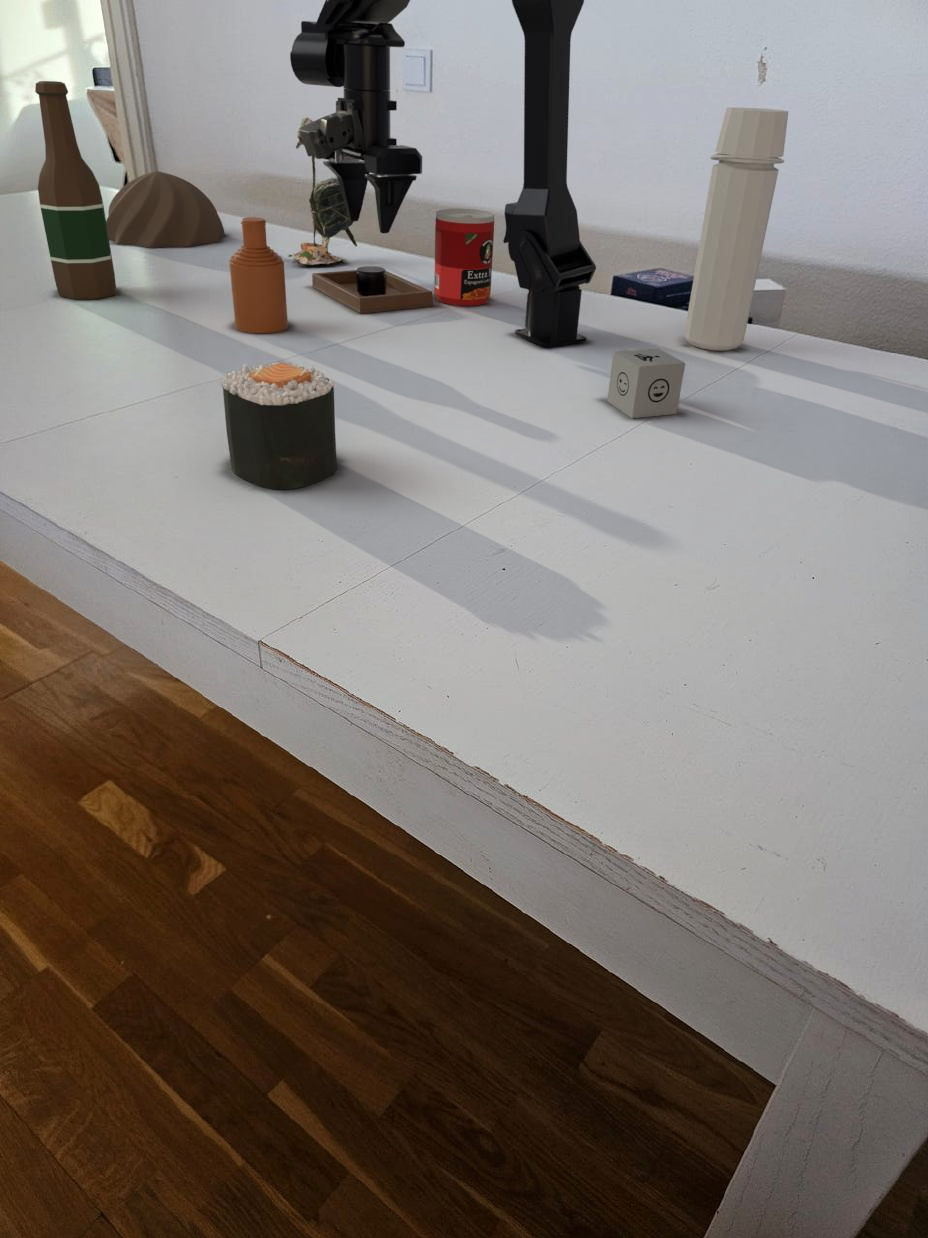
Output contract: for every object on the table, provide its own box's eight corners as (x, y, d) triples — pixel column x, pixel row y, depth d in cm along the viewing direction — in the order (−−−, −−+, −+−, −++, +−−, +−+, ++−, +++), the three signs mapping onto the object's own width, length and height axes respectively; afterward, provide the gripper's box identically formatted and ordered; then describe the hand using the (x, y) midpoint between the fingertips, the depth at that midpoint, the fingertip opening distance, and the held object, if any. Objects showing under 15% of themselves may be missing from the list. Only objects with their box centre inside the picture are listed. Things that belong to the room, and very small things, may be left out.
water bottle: (748, 355, 106) (799, 113, 93) (680, 349, 107) (721, 108, 94) (741, 335, 114) (787, 108, 101) (678, 329, 115) (715, 104, 102)
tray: (432, 306, 120) (432, 291, 119) (360, 313, 115) (359, 298, 114) (380, 281, 131) (380, 267, 130) (312, 287, 126) (311, 273, 125)
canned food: (468, 309, 119) (472, 219, 113) (422, 298, 123) (423, 211, 117) (501, 299, 125) (506, 213, 119) (456, 289, 129) (458, 206, 123)
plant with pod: (365, 266, 139) (362, 119, 129) (291, 268, 136) (282, 117, 125) (354, 256, 146) (350, 115, 135) (283, 257, 143) (274, 113, 132)
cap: (388, 296, 122) (388, 271, 120) (360, 297, 121) (360, 272, 119) (381, 289, 125) (381, 265, 123) (354, 290, 124) (354, 266, 122)
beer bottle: (128, 288, 122) (96, 81, 109) (103, 301, 115) (66, 84, 102) (73, 284, 122) (34, 78, 109) (45, 298, 116) (0, 80, 103)
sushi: (287, 441, 78) (281, 348, 74) (355, 467, 74) (353, 371, 69) (211, 467, 73) (199, 369, 68) (280, 497, 68) (272, 395, 64)
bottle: (295, 330, 108) (289, 222, 101) (245, 335, 105) (235, 224, 98) (277, 317, 112) (269, 213, 106) (228, 322, 109) (217, 215, 103)
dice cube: (607, 401, 90) (613, 351, 88) (650, 397, 92) (657, 348, 89) (632, 418, 86) (639, 366, 84) (676, 413, 88) (685, 362, 85)
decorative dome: (105, 227, 158) (95, 163, 153) (220, 225, 164) (214, 164, 158) (102, 248, 143) (91, 178, 138) (230, 246, 148) (224, 179, 143)
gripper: (276, 83, 113) (284, 217, 122) (337, 93, 100) (341, 243, 108) (357, 85, 118) (359, 214, 127) (425, 95, 105) (423, 238, 113)
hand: (368, 226), depth 119 cm, fingers open, 9 cm apart
